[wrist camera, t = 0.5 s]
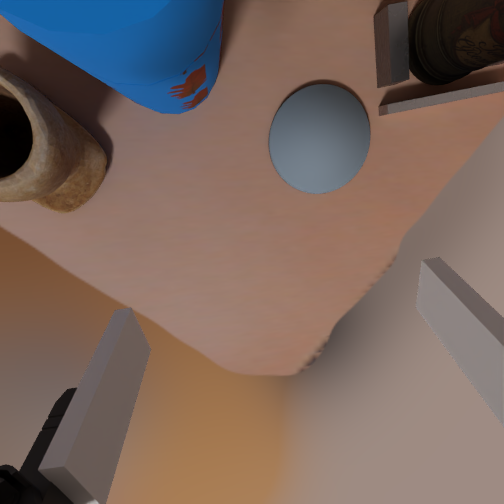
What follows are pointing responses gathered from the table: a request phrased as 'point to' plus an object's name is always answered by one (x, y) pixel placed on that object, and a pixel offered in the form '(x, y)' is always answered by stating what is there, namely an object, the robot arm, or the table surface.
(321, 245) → the table surface
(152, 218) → the table surface
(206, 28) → the thermos
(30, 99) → the stone cup
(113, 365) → the robot arm
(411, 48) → the container
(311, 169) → the mat
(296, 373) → the table surface
